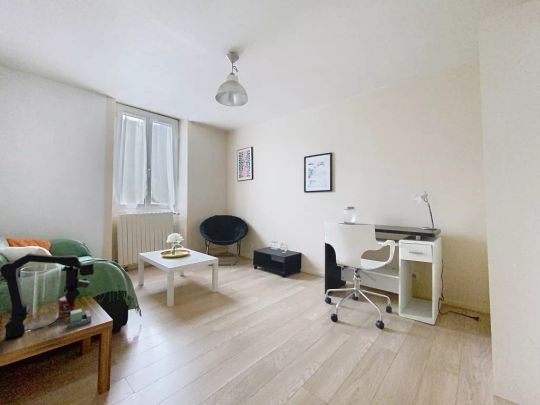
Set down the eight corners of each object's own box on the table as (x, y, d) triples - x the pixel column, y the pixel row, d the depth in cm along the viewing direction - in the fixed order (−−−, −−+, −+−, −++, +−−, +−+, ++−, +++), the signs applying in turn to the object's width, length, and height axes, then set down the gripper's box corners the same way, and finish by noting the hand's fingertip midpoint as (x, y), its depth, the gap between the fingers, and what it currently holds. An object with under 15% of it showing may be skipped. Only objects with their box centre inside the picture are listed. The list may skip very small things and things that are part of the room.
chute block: (71, 326, 136) (71, 314, 136) (70, 323, 140) (70, 311, 140) (82, 323, 140) (82, 311, 140) (80, 320, 143) (81, 308, 143)
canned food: (56, 319, 144) (56, 301, 144) (62, 313, 151) (62, 296, 151) (72, 317, 147) (72, 299, 147) (77, 311, 154) (77, 294, 154)
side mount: (66, 329, 133) (67, 322, 133) (65, 322, 140) (65, 315, 140) (91, 322, 141) (91, 315, 141) (88, 316, 148) (88, 310, 148)
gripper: (91, 278, 138) (90, 305, 138) (86, 271, 151) (85, 295, 151) (66, 282, 130) (64, 310, 130) (63, 274, 144) (62, 300, 144)
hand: (70, 303), depth 139 cm, fingers open, 9 cm apart
